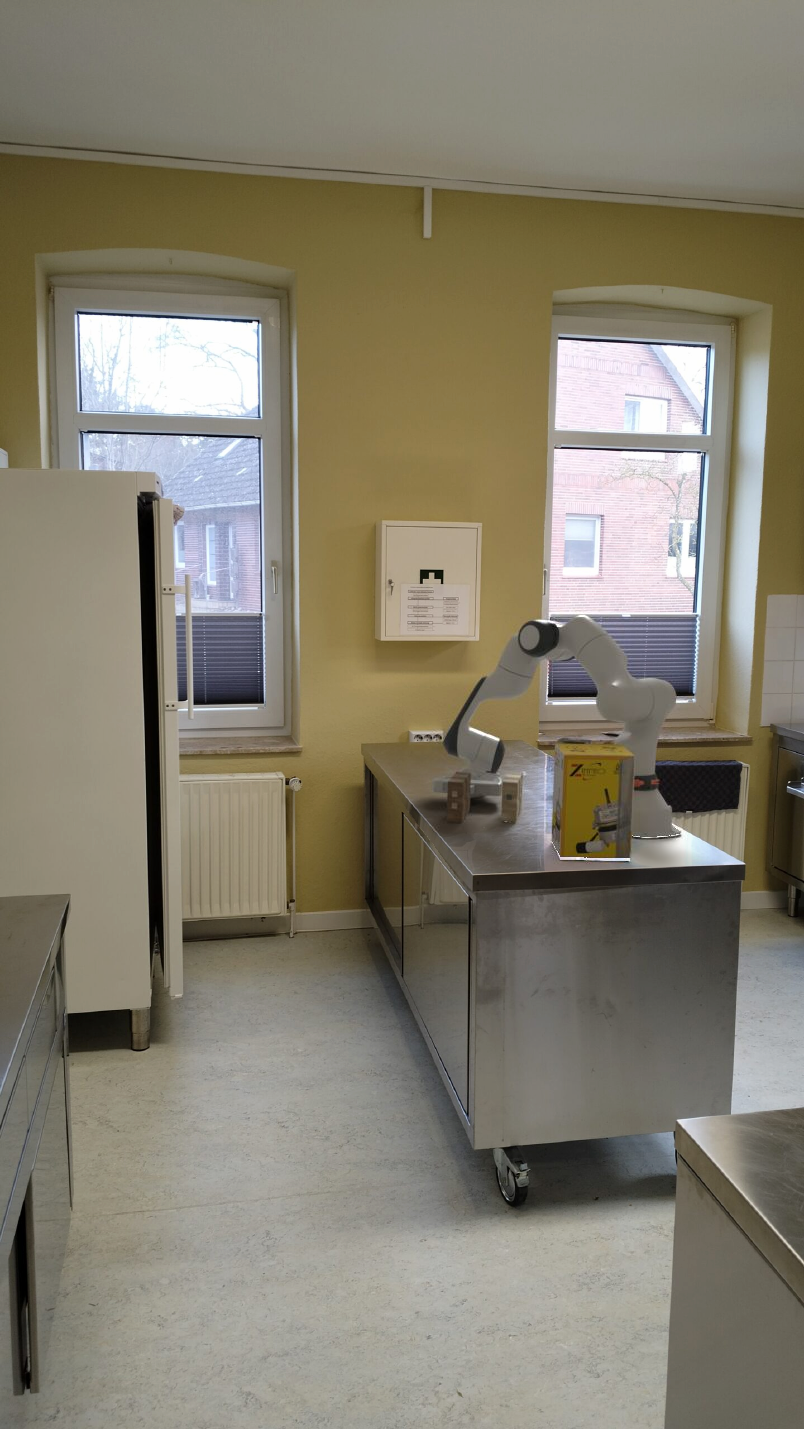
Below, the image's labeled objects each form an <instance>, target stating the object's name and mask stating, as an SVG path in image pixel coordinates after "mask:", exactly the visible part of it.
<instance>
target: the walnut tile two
mask: <svg viewBox="0 0 804 1429" xmlns="http://www.w3.org/2000/svg"><path fill="white" fill-rule="evenodd" d="M470 783H471V773H469V772H460V771H456V772H454V773H453V775H452V776H451V778H450V780H449V781H448V793H446V794H447V795H446V796H447V797H446V799H447V804H446V807H447V808H446V823H455V822H456V824H458V823H459V822H460V823H459V824H462V823H463V822H464V820H465V819H466V817H467V816H468V815H467V814H469V813H470V812H469V811H471V798H470ZM466 815H467V816H466ZM464 818H465V819H464ZM462 821H463V822H462Z"/></svg>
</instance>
